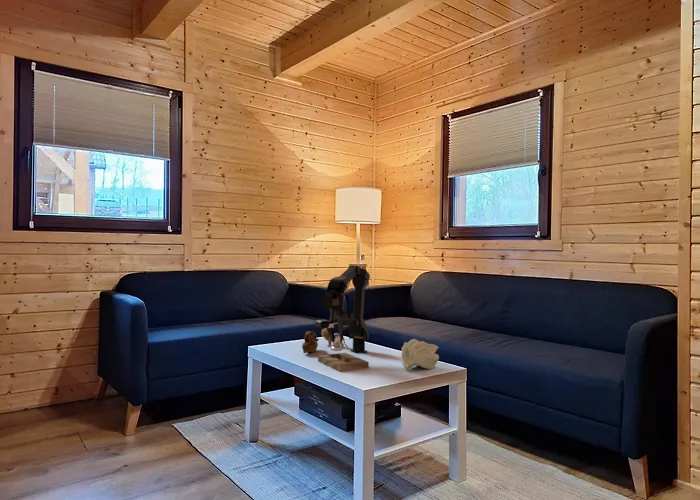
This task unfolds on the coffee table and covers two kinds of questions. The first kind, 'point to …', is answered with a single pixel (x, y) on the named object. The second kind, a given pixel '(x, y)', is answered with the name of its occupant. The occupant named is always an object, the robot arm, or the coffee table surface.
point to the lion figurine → (327, 337)
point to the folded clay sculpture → (419, 354)
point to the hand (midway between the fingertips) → (336, 342)
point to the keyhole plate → (343, 362)
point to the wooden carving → (310, 342)
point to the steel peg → (336, 343)
